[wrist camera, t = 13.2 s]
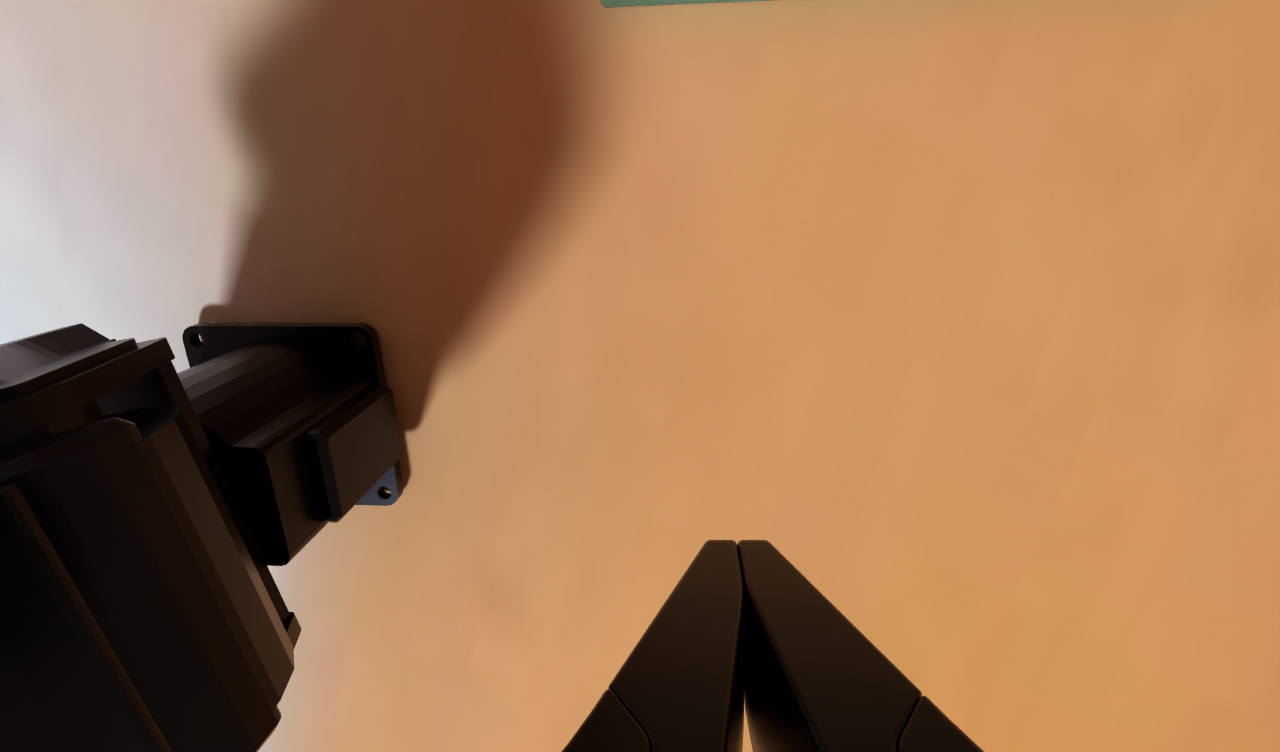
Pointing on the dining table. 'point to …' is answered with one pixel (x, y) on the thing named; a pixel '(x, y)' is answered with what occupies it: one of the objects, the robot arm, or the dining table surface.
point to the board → (661, 2)
